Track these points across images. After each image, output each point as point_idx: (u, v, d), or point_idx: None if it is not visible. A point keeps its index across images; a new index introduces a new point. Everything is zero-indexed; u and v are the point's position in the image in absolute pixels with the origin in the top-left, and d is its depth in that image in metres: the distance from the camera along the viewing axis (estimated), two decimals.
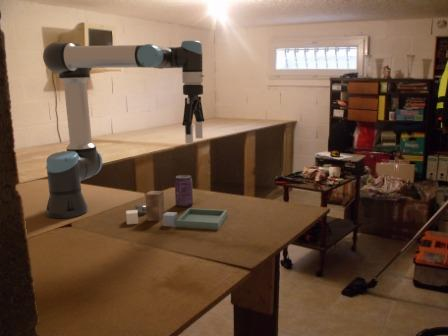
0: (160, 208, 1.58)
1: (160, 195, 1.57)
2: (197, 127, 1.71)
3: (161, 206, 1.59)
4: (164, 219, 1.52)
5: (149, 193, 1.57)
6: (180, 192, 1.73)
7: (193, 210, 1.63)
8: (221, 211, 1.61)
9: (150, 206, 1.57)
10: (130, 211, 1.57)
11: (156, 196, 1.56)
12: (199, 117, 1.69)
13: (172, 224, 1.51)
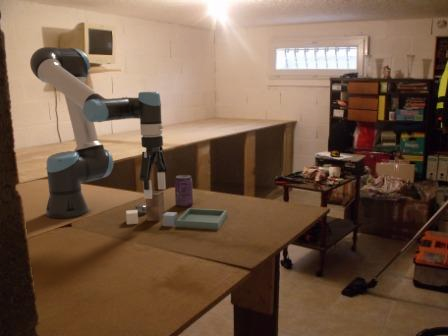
0: (160, 208, 1.58)
1: (160, 195, 1.57)
2: (160, 178, 1.64)
3: (161, 206, 1.59)
4: (164, 219, 1.52)
5: None
6: (180, 192, 1.73)
7: (193, 210, 1.63)
8: (221, 211, 1.61)
9: (150, 206, 1.57)
10: (130, 211, 1.57)
11: (156, 196, 1.56)
12: (161, 168, 1.62)
13: (172, 224, 1.51)
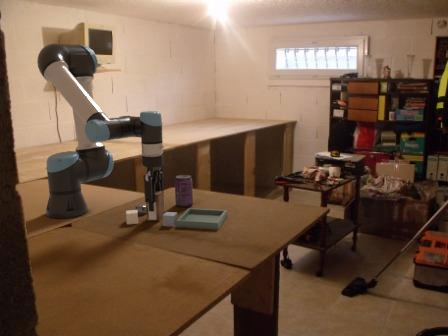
0: (160, 208, 1.58)
1: (160, 195, 1.57)
2: None
3: (161, 206, 1.59)
4: (164, 219, 1.52)
5: None
6: (180, 192, 1.73)
7: (193, 210, 1.63)
8: (221, 211, 1.61)
9: None
10: (130, 211, 1.57)
11: (156, 196, 1.56)
12: None
13: (172, 224, 1.51)
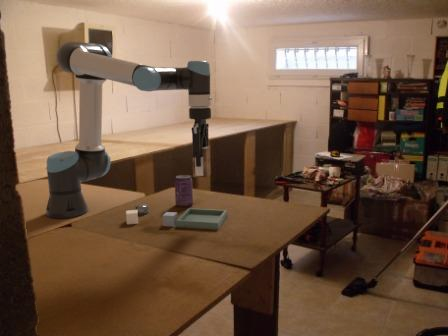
0: (207, 163, 1.50)
1: (207, 150, 1.50)
2: None
3: (208, 161, 1.51)
4: (164, 219, 1.52)
5: None
6: (180, 192, 1.73)
7: (193, 210, 1.63)
8: (221, 211, 1.61)
9: None
10: (130, 211, 1.57)
11: (203, 150, 1.48)
12: None
13: (172, 224, 1.51)
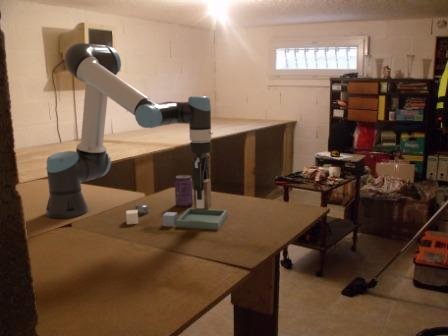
0: (208, 196, 1.53)
1: (208, 183, 1.52)
2: None
3: (209, 194, 1.54)
4: (164, 219, 1.52)
5: None
6: (180, 192, 1.73)
7: (193, 210, 1.63)
8: (221, 211, 1.61)
9: None
10: (130, 211, 1.57)
11: (204, 184, 1.51)
12: None
13: (172, 224, 1.51)
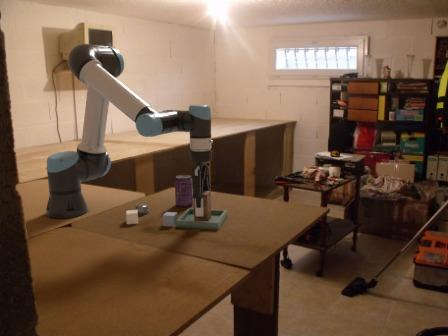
0: (208, 208, 1.53)
1: (208, 195, 1.53)
2: None
3: (209, 206, 1.55)
4: (164, 219, 1.52)
5: None
6: (180, 192, 1.73)
7: (193, 210, 1.63)
8: (221, 211, 1.61)
9: None
10: (130, 211, 1.57)
11: (204, 196, 1.52)
12: (206, 186, 1.57)
13: (172, 224, 1.51)
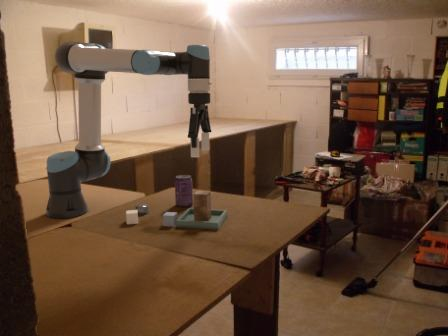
0: (208, 208, 1.53)
1: (208, 195, 1.53)
2: (204, 139, 1.57)
3: (209, 206, 1.55)
4: (164, 219, 1.52)
5: (197, 193, 1.53)
6: (180, 192, 1.73)
7: (193, 210, 1.63)
8: (221, 211, 1.61)
9: (197, 206, 1.53)
10: (130, 211, 1.57)
11: (204, 196, 1.52)
12: (206, 128, 1.55)
13: (172, 224, 1.51)
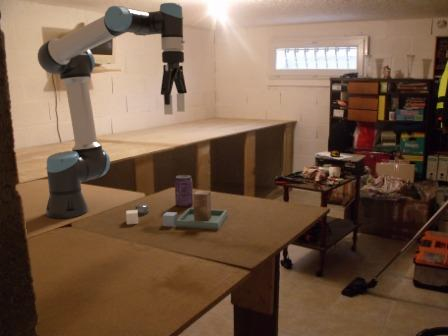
0: (208, 208, 1.53)
1: (208, 195, 1.53)
2: (179, 100, 1.59)
3: (209, 206, 1.55)
4: (164, 219, 1.52)
5: (197, 193, 1.53)
6: (180, 192, 1.73)
7: (193, 210, 1.63)
8: (221, 211, 1.61)
9: (197, 206, 1.53)
10: (130, 211, 1.57)
11: (204, 196, 1.52)
12: (181, 88, 1.58)
13: (172, 224, 1.51)
